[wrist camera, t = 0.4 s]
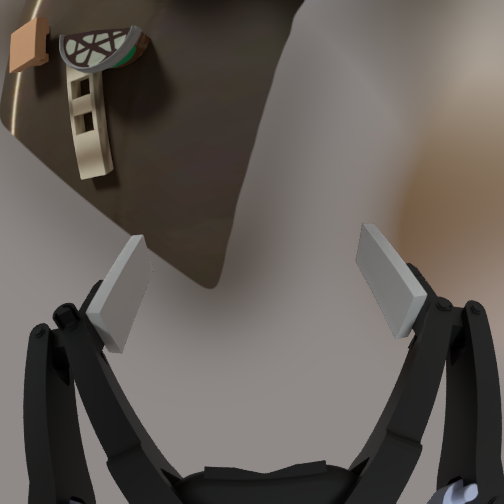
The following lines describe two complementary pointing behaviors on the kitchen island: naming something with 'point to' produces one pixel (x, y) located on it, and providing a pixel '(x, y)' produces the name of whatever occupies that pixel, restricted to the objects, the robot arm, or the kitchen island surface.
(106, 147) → the rail
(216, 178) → the kitchen island surface
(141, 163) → the kitchen island surface
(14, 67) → the tan toy stool
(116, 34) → the grey green half-round piece
